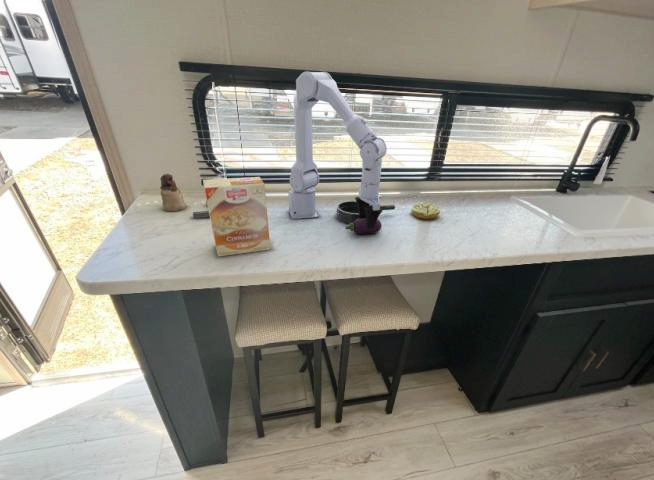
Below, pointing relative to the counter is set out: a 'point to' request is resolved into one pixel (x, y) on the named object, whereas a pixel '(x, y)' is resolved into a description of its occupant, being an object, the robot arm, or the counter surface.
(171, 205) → the figurine
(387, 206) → the pan handle
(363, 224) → the eggplant
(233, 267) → the counter surface
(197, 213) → the door handle
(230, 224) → the coffeecake box
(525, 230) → the counter surface
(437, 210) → the decorated donut
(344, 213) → the pan
